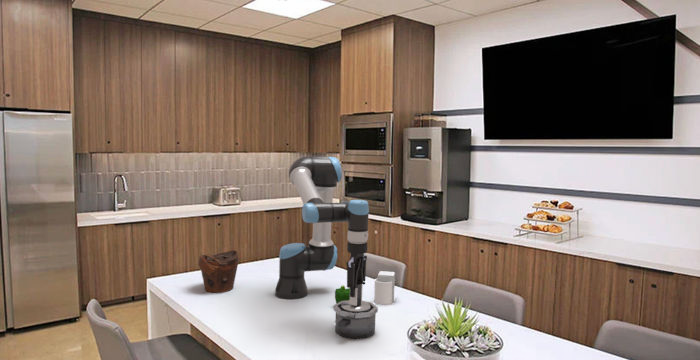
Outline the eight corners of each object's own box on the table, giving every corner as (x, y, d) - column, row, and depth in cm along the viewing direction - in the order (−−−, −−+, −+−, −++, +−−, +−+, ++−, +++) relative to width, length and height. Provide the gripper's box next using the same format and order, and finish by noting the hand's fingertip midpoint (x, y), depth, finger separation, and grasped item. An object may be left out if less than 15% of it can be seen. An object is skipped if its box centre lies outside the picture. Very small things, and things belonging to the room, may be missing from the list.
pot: (321, 338, 172) (322, 312, 171) (350, 317, 194) (350, 294, 193) (360, 347, 166) (361, 320, 165) (385, 324, 187) (386, 301, 186)
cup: (400, 299, 218) (400, 278, 218) (386, 306, 209) (386, 283, 208) (385, 295, 223) (385, 274, 223) (370, 302, 214) (371, 280, 213)
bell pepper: (343, 302, 212) (344, 280, 211) (357, 307, 206) (357, 285, 205) (329, 306, 206) (330, 284, 205) (343, 312, 200) (343, 288, 200)
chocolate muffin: (188, 291, 221) (189, 253, 220) (216, 281, 240) (216, 246, 239) (220, 298, 215) (221, 258, 213) (245, 286, 233) (246, 250, 232)
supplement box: (392, 303, 212) (393, 275, 211) (376, 302, 214) (377, 274, 213) (394, 298, 219) (395, 271, 219) (378, 297, 221) (379, 270, 220)
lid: (336, 310, 176) (337, 285, 175) (348, 301, 186) (348, 278, 185) (364, 315, 172) (364, 290, 171) (374, 306, 182) (375, 282, 181)
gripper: (357, 246, 168) (355, 311, 170) (375, 239, 183) (373, 298, 185) (338, 244, 171) (336, 308, 173) (357, 236, 186) (356, 295, 188)
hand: (355, 302), depth 179 cm, fingers closed on lid, 4 cm apart
